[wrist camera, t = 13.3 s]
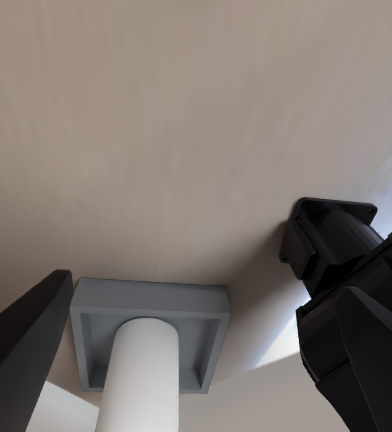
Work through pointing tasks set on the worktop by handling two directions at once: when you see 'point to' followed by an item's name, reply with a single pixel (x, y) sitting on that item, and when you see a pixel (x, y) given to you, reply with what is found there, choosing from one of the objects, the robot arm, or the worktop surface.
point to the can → (142, 379)
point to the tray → (149, 307)
